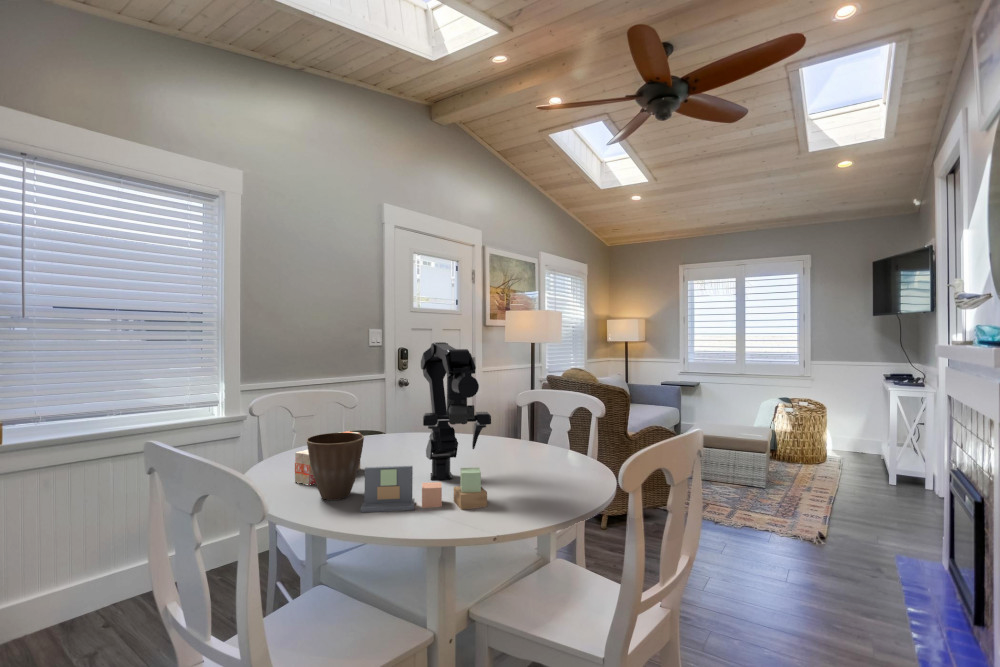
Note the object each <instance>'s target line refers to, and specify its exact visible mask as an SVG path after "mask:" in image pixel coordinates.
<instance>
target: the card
mask: <svg viewBox="0 0 1000 667" xmlns="http://www.w3.org/2000/svg"><path fill="white" fill-rule="evenodd" d="M413 470H414V469H413V465H391V466H389V465H388V466H365V467H364V500H363V502H362V504H361V507H360V513H373V512H374V513H375V512H378V513H379V512H396V511H414V510H415V504H416V503H415V498H413V482H414V481H413V479H414V477H413V474H414V473H413Z"/></svg>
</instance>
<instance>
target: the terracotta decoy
mask: <svg viewBox="0 0 1000 667" xmlns="http://www.w3.org/2000/svg"><path fill="white" fill-rule="evenodd" d="M442 490H443V488H442V481H437V482H422V483H421V508H422V509H424V508H427V509H428V508H442V506H443V504H442V503H443V498H442V496H443V494H442V492H443V491H442Z"/></svg>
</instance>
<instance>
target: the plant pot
mask: <svg viewBox="0 0 1000 667" xmlns="http://www.w3.org/2000/svg"><path fill="white" fill-rule="evenodd" d="M358 433H359V432H358ZM358 433H339V432H330V433H320V434H316V435H312V436H310V437H307V439H306V446H307V449H308V453H309V459H310V463H311V468H312V472H313V475H314V479H315V482H316V483H315V485H316V487H317V490H318V492H319V495H320V497H322V498H321V499H323V500H325V499H328V500H327V501H337V500H338V499H339V500H343V499H346V498H348V497H349V496H350V495H351V492H352V490H353V487H354V484H355V481H356V478H357V474H358V471H359V470H358V467H359V463H360V464H361V458H362V453H363V446H364V439H365V436H364V435H363V434H361V433H360V434H358ZM339 500H338V501H339Z"/></svg>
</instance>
